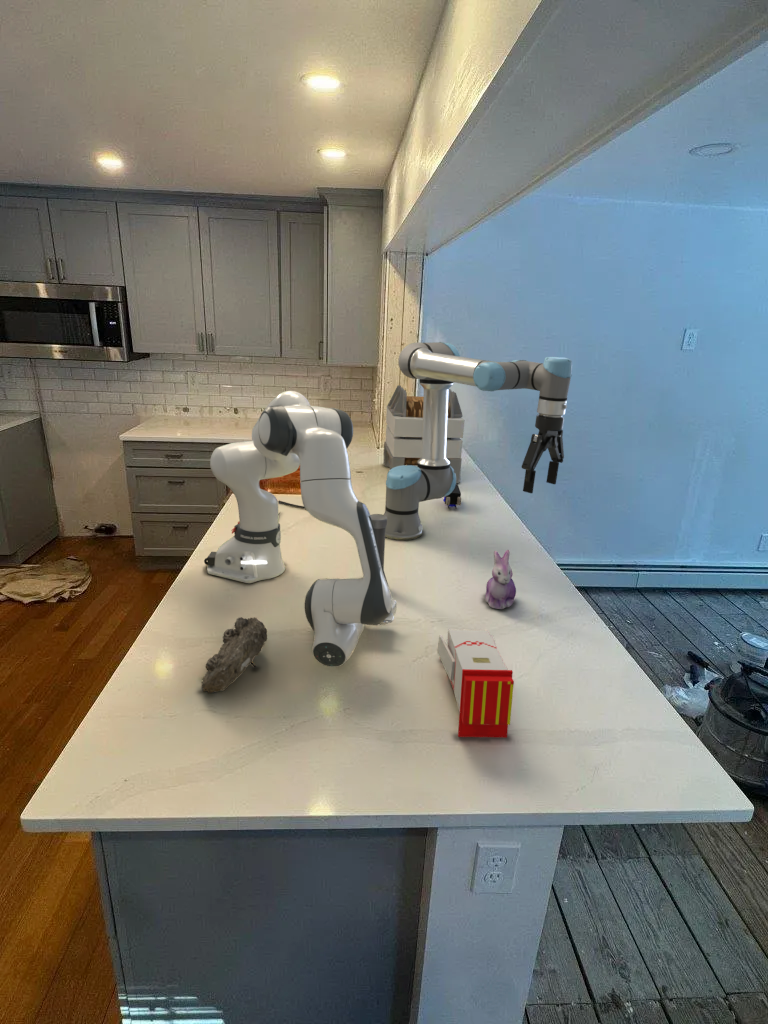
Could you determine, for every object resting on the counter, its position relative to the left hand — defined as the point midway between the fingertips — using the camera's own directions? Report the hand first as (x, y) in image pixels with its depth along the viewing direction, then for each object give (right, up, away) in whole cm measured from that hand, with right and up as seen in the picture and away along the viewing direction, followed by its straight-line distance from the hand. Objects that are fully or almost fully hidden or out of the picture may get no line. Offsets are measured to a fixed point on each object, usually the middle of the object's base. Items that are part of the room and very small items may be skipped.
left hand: (361, 590), depth 146 cm
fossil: (-26, -13, -22) cm, 36 cm away
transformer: (+23, +39, +129) cm, 137 cm away
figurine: (+38, -5, +10) cm, 39 cm away
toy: (+24, -17, -27) cm, 40 cm away
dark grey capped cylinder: (+3, 0, +17) cm, 18 cm away
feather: (-34, +19, +66) cm, 76 cm away
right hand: (+51, +27, +19) cm, 61 cm away
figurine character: (+33, +23, +86) cm, 95 cm away
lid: (+4, +19, +10) cm, 22 cm away
